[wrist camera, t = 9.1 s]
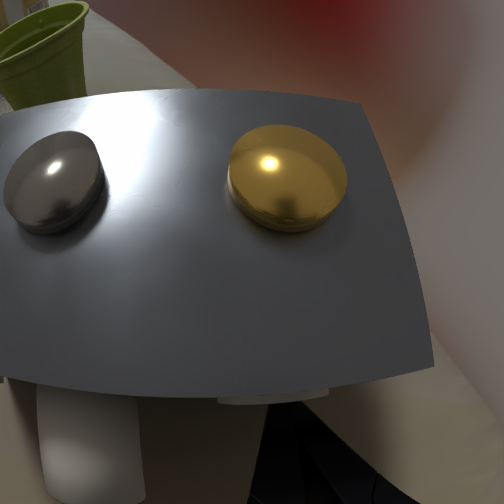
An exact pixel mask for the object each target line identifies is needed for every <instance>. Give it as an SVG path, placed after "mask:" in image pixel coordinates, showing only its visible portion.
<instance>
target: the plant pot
mask: <svg viewBox="0 0 504 504" xmlns="http://www.w3.org/2000/svg"><path fill="white" fill-rule="evenodd" d="M88 11H89V6H88V4H87V3H86V2H83V1H72V2H65V3H61V4H57V5H53V6H50V7H47V8H44V9H42V10H39V11H37V12H35V13H32V14H30V15H28V16H26V17H25V18H22V19H21V20H19V21H17V22H15V23H14V24H12V25H11V26H9V27H8V28H6V29H5V30H3V31H2V32H0V91H1V93H2V94H3V95H4V97H5V98H6V100H7V101H8V103H9V104H10V105H11V107H12V108H13V109H14V111H17V110H21V109H25V108H29V107H34V106H38V105H43V104H48V103H53V102H58V101H64V100H69V99H76V98H82V97H86V96H87V95H86V86H85V77H84V66H83V48H82V32H83V30H84V23H85V16H86V15H87V14H88Z"/></svg>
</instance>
